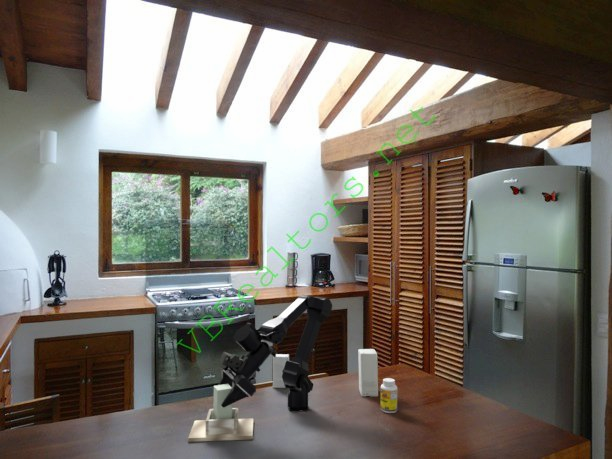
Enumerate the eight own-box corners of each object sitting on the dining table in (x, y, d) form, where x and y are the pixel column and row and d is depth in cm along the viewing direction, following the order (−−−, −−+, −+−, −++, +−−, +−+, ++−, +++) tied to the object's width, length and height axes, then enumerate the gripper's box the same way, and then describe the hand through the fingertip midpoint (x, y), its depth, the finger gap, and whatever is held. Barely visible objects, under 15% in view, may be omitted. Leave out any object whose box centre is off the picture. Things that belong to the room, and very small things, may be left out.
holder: (253, 421, 134) (253, 405, 134) (252, 439, 122) (252, 421, 123) (194, 423, 133) (194, 407, 133) (188, 441, 121) (188, 423, 121)
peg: (227, 423, 130) (228, 383, 131) (231, 429, 126) (232, 388, 127) (213, 426, 128) (213, 385, 129) (216, 432, 125) (217, 390, 125)
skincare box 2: (378, 397, 156) (378, 354, 157) (360, 396, 156) (360, 353, 157) (374, 389, 165) (375, 348, 165) (357, 389, 165) (357, 348, 165)
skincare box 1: (289, 384, 169) (289, 354, 169) (287, 388, 165) (288, 357, 165) (274, 384, 170) (274, 353, 170) (272, 387, 165) (272, 356, 166)
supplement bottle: (377, 408, 145) (377, 378, 146) (391, 406, 148) (391, 376, 148) (386, 414, 140) (386, 383, 141) (400, 412, 142) (400, 381, 143)
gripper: (227, 336, 138) (192, 375, 133) (245, 349, 121) (206, 394, 116) (250, 358, 142) (217, 397, 136) (271, 374, 125) (234, 419, 120)
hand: (218, 401), depth 127 cm, fingers open, 9 cm apart
